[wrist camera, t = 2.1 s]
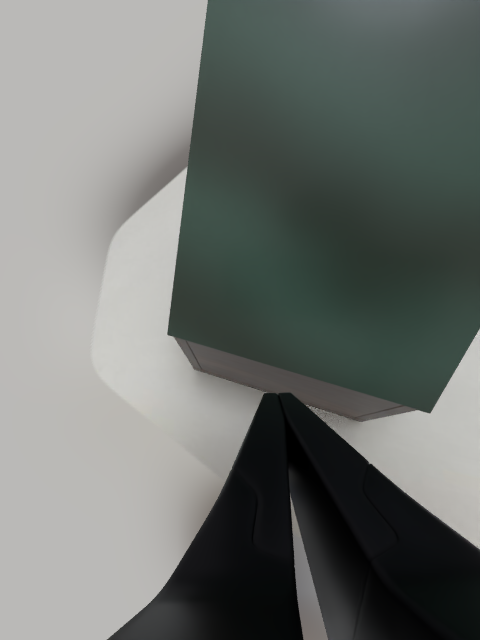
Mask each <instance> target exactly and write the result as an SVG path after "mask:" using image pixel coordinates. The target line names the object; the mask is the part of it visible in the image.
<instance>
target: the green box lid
mask: <svg viewBox="0 0 480 640" xmlns="http://www.w3.org/2000/svg"><path fill="white" fill-rule="evenodd" d="M479 329H480V0H208V5H207V13H206V21H205V29H204V38H203V46H202V54H201V62H200V70H199V79H198V87H197V95H196V103H195V112H194V120H193V128H192V137H191V144H190V153H189V161H188V169H187V177H186V185H185V194H184V202H183V210H182V218H181V227H180V235H179V243H178V251H177V259H176V268H175V276H174V284H173V292H172V301H171V309H170V317H169V325H168V333H167V334H168V335H170V336H173V337H176V338H180V339H183V340H186V341H190V342H193V343H196V344H200V345H203V346H206V347H210V348H213V349H216V350H220V351H223V352H226V353H230V354H233V355H236V356H240V357H243V358H246V359H250V360H253V361H256V362H260V363H263V364H266V365H270V366H273V367H277V368H280V369H283V370H287V371H290V372H293V373H297V374H300V375H303V376H307V377H310V378H313V379H317V380H320V381H323V382H327V383H330V384H333V385H337V386H340V387H343V388H347V389H350V390H353V391H357V392H360V393H363V394H367V395H370V396H373V397H377V398H380V399H383V400H387V401H390V402H393V403H397V404H400V405H403V406H407V407H410V408H413V409H417V410H420V411H423V412H427V413H431V411H432V409H433V408H434V406H435V404H436V403H437V401H438V399H439V397H440V396H441V394H442V392H443V391H444V389H445V387H446V385H447V384H448V382H449V380H450V378H451V377H452V375H453V373H454V372H455V370H456V368H457V366H458V365H459V363H460V361H461V360H462V358H463V356H464V354H465V353H466V351H467V349H468V348H469V346H470V344H471V342H472V341H473V339H474V337H475V335H476V334H477V332H478V330H479Z"/></svg>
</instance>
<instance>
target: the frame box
mask: <svg viewBox="0 0 480 640" xmlns="http://www.w3.org/2000/svg"><path fill="white" fill-rule="evenodd" d="M174 338H175V339H176V341H177V343H178V344H179V346H180V347H181V349H182V350H183V352H184V354H185V355H186V357H187V358H188V360H189V361H190V363H191V365H192V366H193V368H194V369H195V370H198V371H201V372H204V373H208V374H211V375H214V376H217V377H220V378H224V379H227V380H230V381H233V382H236V383H240V384H243V385H246V386H249V387H252V388H256V389H259V390H262V391H265V392H268V393H276V394H277V395H278V393H285V392H290V393H292V394H293V395H294V396H295V397H297V398H298V399H299V400H300V401H301V402H302V403H304V404H307V405H310V406H313V407H316V408H320V409H323V410H326V411H329V412H332V413H336V414H339V415H342V416H345V417H348V418H352V419H355V420H358V421H361V422H363V421H367V420H372V419H377V418H382V417H386V416H391V415H396V414H401V413H406V412H410V411H415V410H417V409H413V408H410V407H407V406H403V405H400V404H397V403H393V402H390V401H387V400H383V399H380V398H377V397H373V396H370V395H367V394H363V393H360V392H357V391H353V390H350V389H347V388H343V387H340V386H337V385H333V384H330V383H327V382H323V381H320V380H317V379H313V378H310V377H307V376H303V375H300V374H297V373H293V372H290V371H287V370H283V369H280V368H277V367H273V366H270V365H266V364H263V363H260V362H256V361H253V360H250V359H246V358H243V357H240V356H236V355H233V354H230V353H226V352H223V351H220V350H216V349H213V348H210V347H206V346H203V345H200V344H196V343H193V342H190V341H186V340H183V339H180V338H176V337H174Z"/></svg>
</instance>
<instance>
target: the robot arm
mask: <svg viewBox="0 0 480 640" xmlns="http://www.w3.org/2000/svg"><path fill="white" fill-rule="evenodd" d="M290 494H291V498H292V502H293V506H294V510H295V514H296V517H297V521H298V525H299V529H300V533H301V537H302V540H303V544H304V548H305V552H306V555H307V560H308V563H309V567H310V571H311V575H312V578H313V583H314V586H315V590H316V594H317V598H318V602H319V606H320V609H321V613H322V617H323V621H324V625H325V629H326V632H327V636H328V640H480V549H478V548H477V547H476V546H474V545H473V544H472V543H470V542H469V541H468V540H466V539H465V538H464V537H462V536H461V535H460V534H458V533H457V532H456V531H454V530H453V529H452V528H450V527H449V526H448V525H446V524H445V523H444V522H442V521H441V520H440V519H439V518H437V517H436V516H435V515H433V514H432V513H431V512H429V511H428V510H427V509H425V508H424V507H423V506H421V505H420V504H419V503H418V502H416V501H415V500H414V499H412V498H411V497H410V496H409V495H407V494H406V493H405V492H403V491H402V490H401V489H400V488H399V487H397V486H396V485H395V484H394V483H393V482H392V481H390V480H389V479H388V478H387V477H386V476H384V475H383V474H382V473H381V472H380V471H379V470H378V469H377V468H375V467H374V466H373V465H372V464H369V462H368V461H367V460H366V459H365V458H364V457H363V456H362V455H361V454H359V453H358V452H357V451H356V450H355V449H354V448H353V447H352V446H350V445H349V444H348V443H347V442H346V441H345V440H344V439H343V438H341V437H340V436H339V435H338V434H337V433H336V432H335V431H334V430H332V429H331V428H330V427H329V426H328V425H327V424H326V423H325V422H323V421H322V420H321V419H320V418H319V417H318V416H317V415H316V414H314V413H313V412H312V411H311V410H310V409H309V408H308V407H307V406H306V405H304V404H303V403H302V402H301V401H300V400H299V399H298V398H297V397H295V396H294V395H293V394H292V393H290V392H285V393H278V395H277V394H276V393H265V394H264V395H263V397H262V399H261V402H260V404H259V406H258V409H257V411H256V413H255V416H254V418H253V420H252V423H251V425H250V427H249V429H248V432H247V434H246V436H245V439H244V441H243V443H242V446H241V448H240V450H239V453H238V455H237V457H236V460H235V462H234V464H233V467H232V470H231V471H230V473H229V476H228V478H227V480H226V482H225V484H224V487H223V489H222V491H221V493H220V495H219V497H218V499H217V501H216V502H215V504H214V506H213V508H212V510H211V511H210V513H209V515H208V517H207V518H206V520H205V522H204V523H203V525H202V527H201V528H200V530H199V532H198V533H197V535H196V537H195V538H194V540H193V541H192V543H191V545H190V547H189V548H188V550H187V551H186V553H185V555H184V556H183V558H182V560H181V561H180V563H179V565H178V566H177V568H176V569H175V571H174V573H173V574H172V576H171V577H170V579H169V580H168V582H167V583H166V585H165V586H164V587H163V589H162V590H161V591H160V592H159V594H158V595H157V596H156V597H155V598H154V599H153V600H152V601H151V602H150V603H149V604H148V605H147V606H146V607H145V608H144V609H143V610H141V611H140V612H139V613H138V614H137V615H135V616H134V617H133V618H132V619H131V620H130V621H128V622H127V623H126V624H125V625H124V626H123V627H121V628H120V629H119V630H118V631H117V632H116V633H114V634H113V635H112V636H111V637H110V638H109V639H107V640H303V634H302V627H301V621H300V615H299V608H298V600H297V590H296V579H295V568H294V550H293V549H294V548H293V533H292V518H291V502H290Z"/></svg>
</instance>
